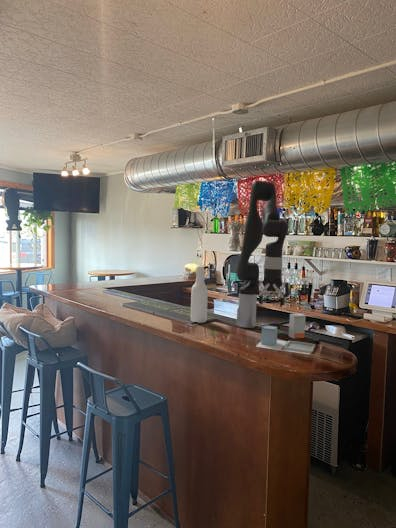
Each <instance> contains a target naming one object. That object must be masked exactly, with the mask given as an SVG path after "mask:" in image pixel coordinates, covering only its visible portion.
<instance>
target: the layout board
mask: <svg viewBox="0 0 396 528" xmlns="http://www.w3.org/2000/svg"><path fill="white" fill-rule="evenodd" d="M255 347H256V348H263V349H268V350H269V349H270V350H276V351H284V352H290V353H295V354H296V353H297V354H304V355H309V356H310V355H311V354H313V352H314V350H315V348H316V343H311V342H302V341H294V340H288V341H287V340H281V339H277V343H276V344H275V346H270V345H263V344H261V341H260V342H258V343H257V344H256V346H255Z"/></svg>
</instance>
